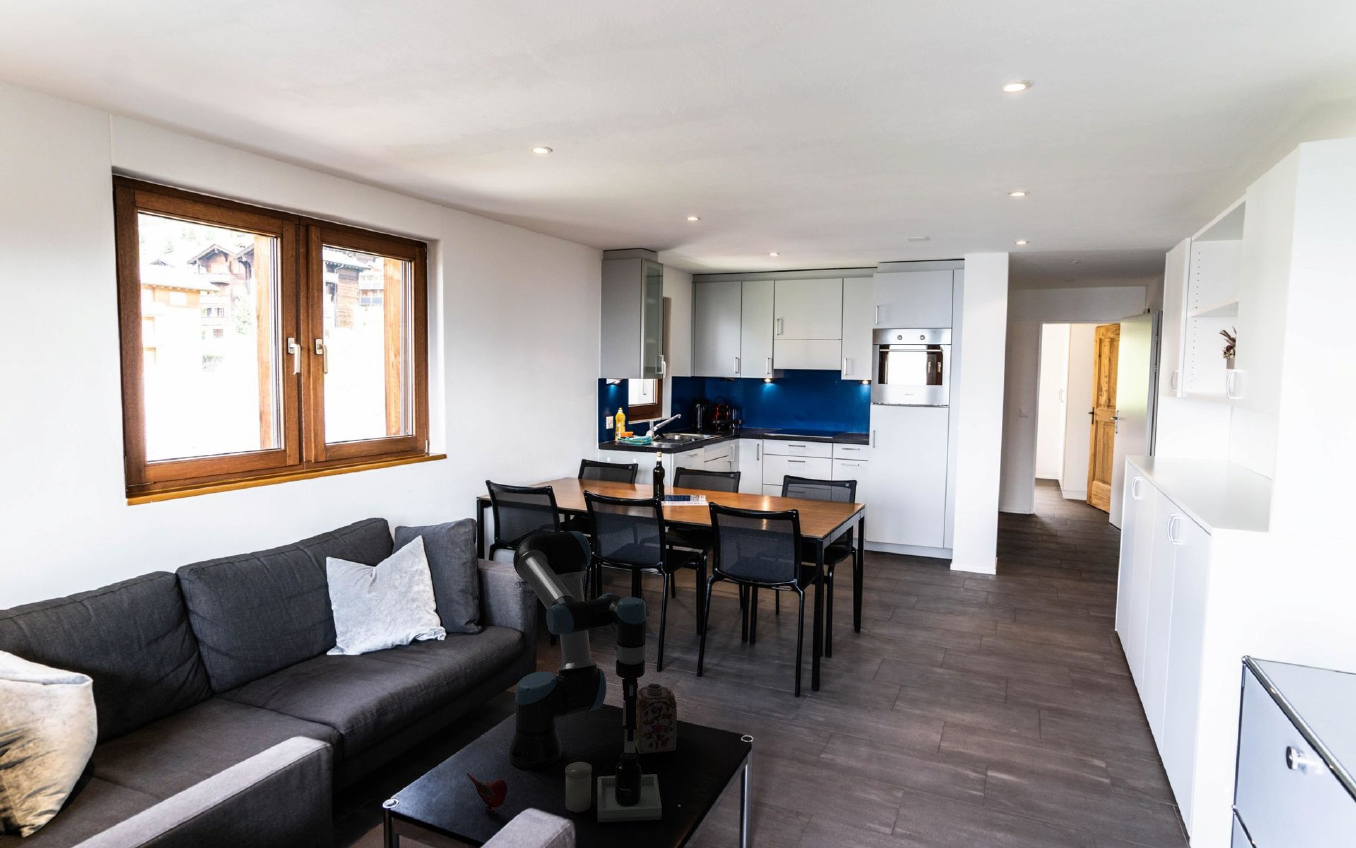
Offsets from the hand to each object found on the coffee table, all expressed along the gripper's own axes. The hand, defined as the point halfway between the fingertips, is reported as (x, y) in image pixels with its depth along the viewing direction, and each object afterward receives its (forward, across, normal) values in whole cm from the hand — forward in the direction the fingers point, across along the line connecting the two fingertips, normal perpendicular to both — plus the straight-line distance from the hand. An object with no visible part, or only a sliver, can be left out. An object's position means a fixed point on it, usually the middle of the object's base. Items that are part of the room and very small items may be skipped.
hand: (628, 738), depth 193 cm
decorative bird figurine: (+18, +1, -36) cm, 40 cm away
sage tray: (+17, +1, 0) cm, 17 cm away
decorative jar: (+18, -30, +9) cm, 36 cm away
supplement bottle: (+16, +1, 0) cm, 16 cm away
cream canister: (+17, +1, -13) cm, 21 cm away
